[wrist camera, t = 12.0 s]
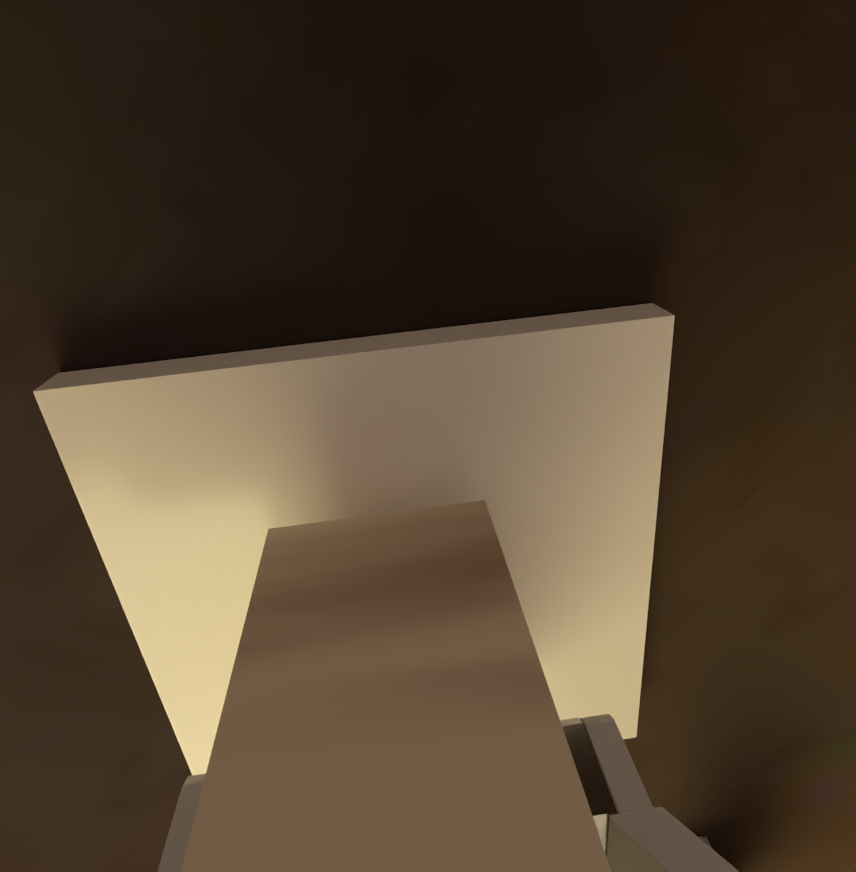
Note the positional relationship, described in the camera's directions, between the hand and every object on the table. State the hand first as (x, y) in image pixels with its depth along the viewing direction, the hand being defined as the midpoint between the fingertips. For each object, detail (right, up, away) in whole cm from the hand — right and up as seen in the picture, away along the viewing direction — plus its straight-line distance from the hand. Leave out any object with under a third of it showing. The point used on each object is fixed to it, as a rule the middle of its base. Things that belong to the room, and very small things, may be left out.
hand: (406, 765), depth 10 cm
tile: (0, +2, +4) cm, 5 cm away
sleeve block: (0, +1, +2) cm, 3 cm away
